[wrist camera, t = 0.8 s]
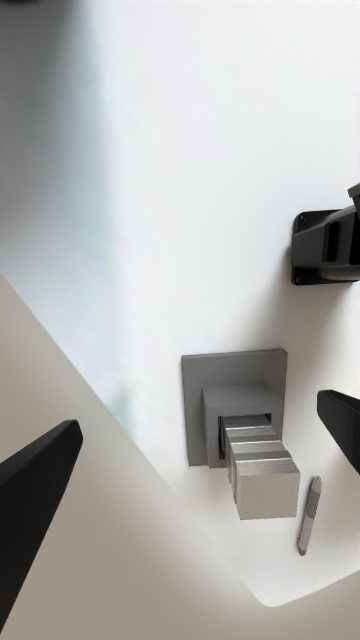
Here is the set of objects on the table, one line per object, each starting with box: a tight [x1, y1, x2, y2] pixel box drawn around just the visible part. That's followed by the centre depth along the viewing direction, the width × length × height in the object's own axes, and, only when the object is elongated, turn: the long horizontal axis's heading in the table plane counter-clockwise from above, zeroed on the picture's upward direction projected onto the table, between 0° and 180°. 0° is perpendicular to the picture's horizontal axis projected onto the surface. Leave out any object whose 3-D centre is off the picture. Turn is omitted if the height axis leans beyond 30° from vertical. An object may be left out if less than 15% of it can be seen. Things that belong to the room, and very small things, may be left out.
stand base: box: [182, 349, 288, 468], centre depth 19 cm, size 11×14×5 cm
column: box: [218, 414, 300, 520], centre depth 17 cm, size 4×4×8 cm
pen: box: [297, 476, 321, 556], centre depth 25 cm, size 1×14×1 cm, turn 179°
